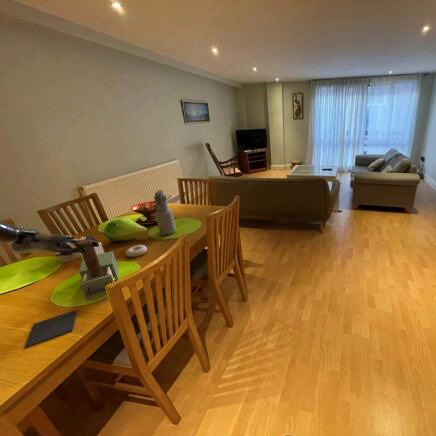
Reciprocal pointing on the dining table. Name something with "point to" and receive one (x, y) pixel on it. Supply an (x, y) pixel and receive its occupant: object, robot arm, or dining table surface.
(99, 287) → the drawer
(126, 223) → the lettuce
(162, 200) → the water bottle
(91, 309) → the dining table surface
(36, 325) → the mat
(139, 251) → the donut
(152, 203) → the red decorative bowl
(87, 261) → the pepper mill
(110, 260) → the cabinet
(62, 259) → the lumpy-topped squat cylinder
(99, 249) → the medicine bottle
